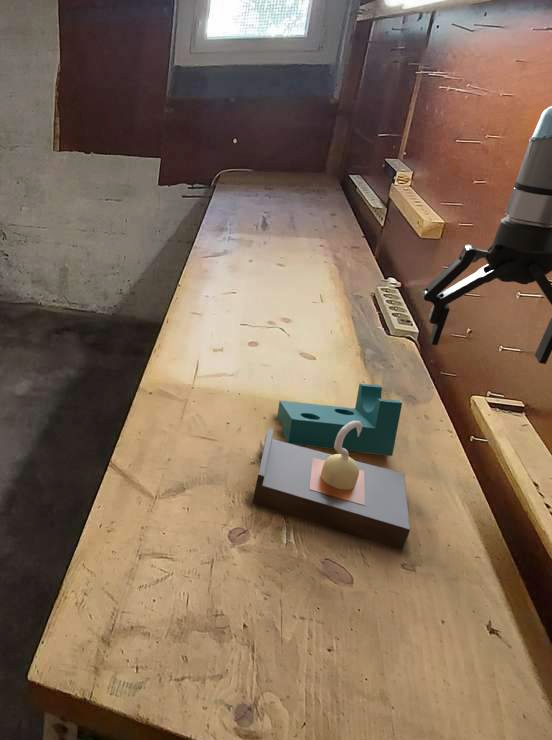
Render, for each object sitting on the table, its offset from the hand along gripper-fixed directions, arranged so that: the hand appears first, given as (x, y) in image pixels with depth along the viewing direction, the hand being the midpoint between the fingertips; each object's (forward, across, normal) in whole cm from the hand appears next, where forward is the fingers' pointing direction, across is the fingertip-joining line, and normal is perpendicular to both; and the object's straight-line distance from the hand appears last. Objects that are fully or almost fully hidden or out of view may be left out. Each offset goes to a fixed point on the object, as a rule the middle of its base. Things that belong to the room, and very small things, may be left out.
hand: (484, 350), depth 89 cm
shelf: (+27, +17, +14) cm, 35 cm away
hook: (+22, +16, +14) cm, 31 cm away
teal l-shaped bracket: (+27, +17, -6) cm, 32 cm away
